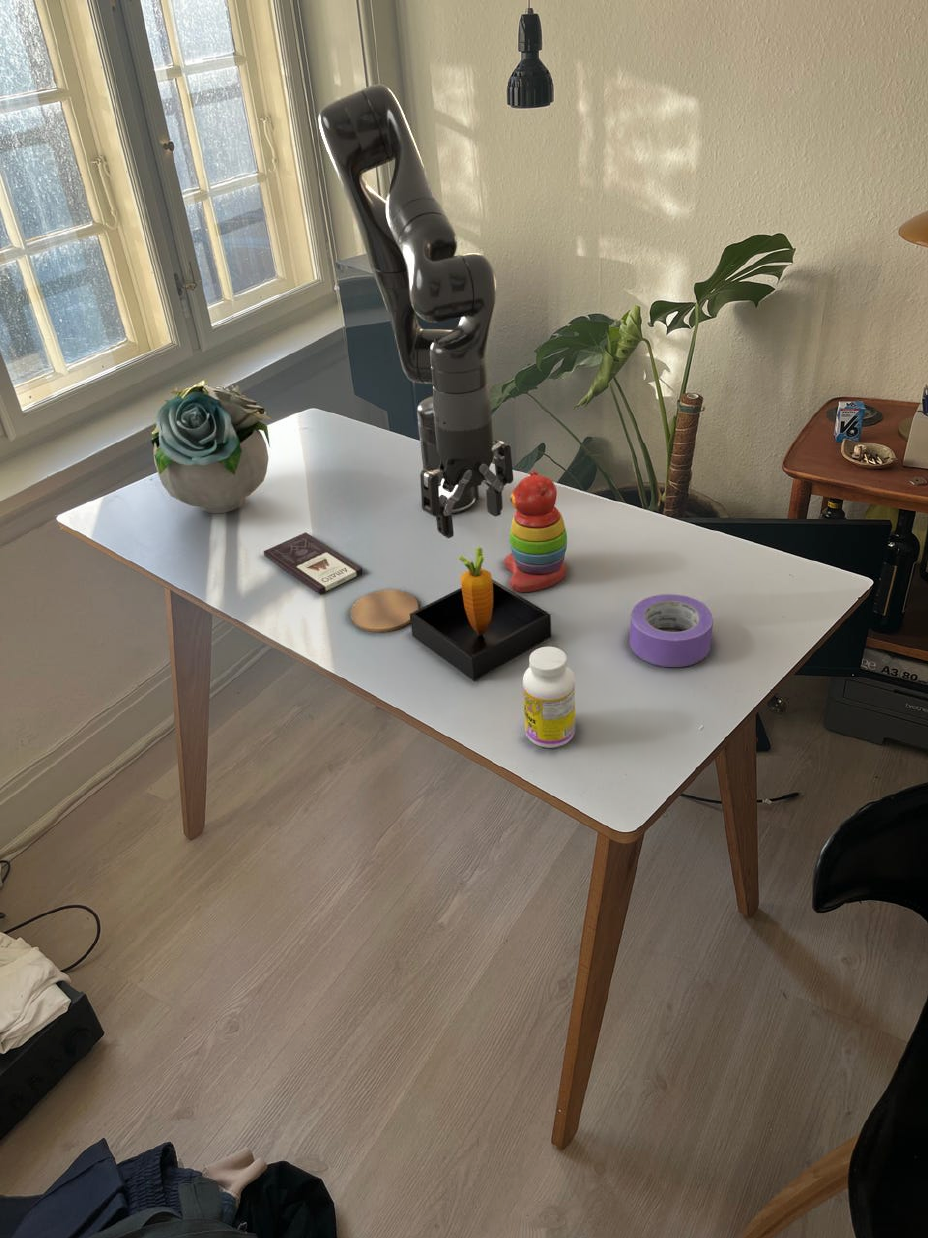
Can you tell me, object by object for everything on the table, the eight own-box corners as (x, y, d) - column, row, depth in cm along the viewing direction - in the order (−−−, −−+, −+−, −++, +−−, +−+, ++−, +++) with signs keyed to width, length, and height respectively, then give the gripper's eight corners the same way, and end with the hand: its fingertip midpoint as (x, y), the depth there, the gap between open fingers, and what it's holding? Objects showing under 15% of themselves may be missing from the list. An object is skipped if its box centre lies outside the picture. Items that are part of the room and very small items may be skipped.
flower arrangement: (311, 488, 185) (288, 372, 171) (223, 547, 168) (190, 423, 154) (223, 466, 197) (195, 355, 182) (133, 519, 180) (94, 401, 166)
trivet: (393, 584, 154) (392, 582, 154) (432, 612, 147) (432, 608, 146) (337, 611, 149) (337, 608, 148) (375, 641, 142) (375, 638, 141)
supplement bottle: (522, 719, 125) (518, 644, 117) (570, 713, 125) (569, 638, 117) (529, 753, 119) (525, 677, 112) (579, 747, 119) (579, 671, 112)
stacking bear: (503, 559, 158) (497, 466, 147) (560, 552, 158) (559, 459, 148) (511, 594, 149) (506, 497, 139) (573, 587, 149) (572, 490, 139)
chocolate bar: (305, 532, 169) (362, 568, 157) (306, 536, 169) (362, 572, 158) (263, 551, 164) (318, 589, 152) (264, 555, 165) (319, 594, 153)
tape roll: (646, 612, 142) (648, 585, 139) (721, 631, 137) (724, 604, 134) (617, 655, 134) (618, 627, 131) (694, 677, 129) (697, 649, 126)
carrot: (474, 648, 138) (466, 564, 129) (459, 632, 141) (451, 549, 133) (503, 638, 139) (497, 554, 131) (487, 622, 143) (481, 539, 134)
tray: (487, 596, 149) (485, 574, 147) (551, 636, 139) (550, 614, 137) (412, 635, 142) (409, 613, 139) (473, 681, 132) (471, 658, 129)
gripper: (436, 442, 114) (447, 553, 123) (522, 407, 120) (526, 515, 130) (401, 425, 119) (414, 533, 128) (486, 393, 125) (492, 498, 135)
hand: (471, 524), depth 129 cm, fingers open, 8 cm apart
